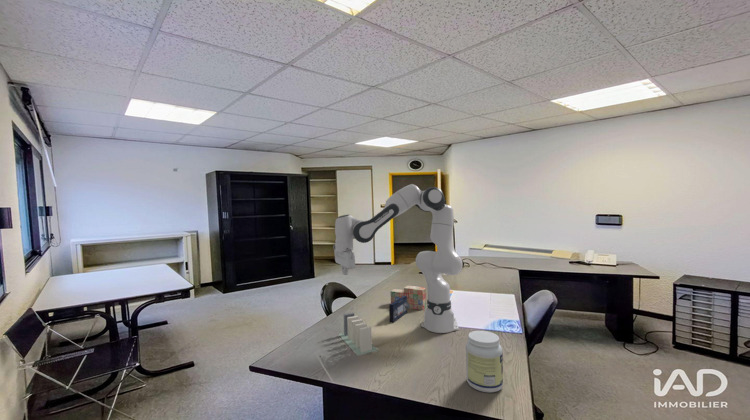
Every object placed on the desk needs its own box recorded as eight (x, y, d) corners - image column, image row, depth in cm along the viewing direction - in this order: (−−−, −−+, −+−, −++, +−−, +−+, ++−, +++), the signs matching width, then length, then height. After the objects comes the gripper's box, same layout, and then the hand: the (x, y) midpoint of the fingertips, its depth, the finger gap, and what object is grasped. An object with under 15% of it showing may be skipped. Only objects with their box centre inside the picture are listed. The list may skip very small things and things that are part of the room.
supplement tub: (509, 393, 105) (508, 343, 105) (472, 394, 105) (471, 344, 105) (495, 374, 117) (494, 328, 117) (462, 374, 117) (461, 329, 117)
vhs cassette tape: (393, 323, 170) (392, 305, 170) (388, 322, 171) (388, 304, 171) (408, 313, 185) (407, 296, 185) (403, 312, 187) (403, 295, 187)
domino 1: (344, 334, 155) (343, 314, 155) (353, 332, 157) (353, 312, 157) (345, 335, 154) (344, 315, 154) (354, 333, 156) (354, 313, 156)
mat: (338, 335, 156) (338, 334, 156) (356, 331, 160) (356, 330, 160) (357, 356, 133) (357, 355, 133) (378, 351, 138) (378, 350, 138)
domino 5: (359, 351, 137) (359, 328, 137) (370, 348, 139) (369, 326, 139) (361, 352, 136) (360, 329, 136) (371, 350, 138) (371, 327, 138)
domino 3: (351, 342, 146) (351, 320, 146) (361, 340, 148) (361, 319, 148) (352, 343, 145) (352, 322, 145) (362, 341, 147) (362, 320, 147)
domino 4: (355, 346, 142) (355, 324, 142) (365, 344, 144) (365, 322, 144) (357, 348, 140) (356, 325, 140) (367, 345, 142) (366, 323, 142)
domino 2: (347, 338, 151) (347, 317, 151) (357, 336, 153) (356, 315, 153) (348, 339, 149) (348, 318, 149) (358, 337, 152) (358, 316, 151)
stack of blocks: (390, 305, 199) (390, 286, 199) (394, 302, 205) (394, 284, 205) (423, 310, 190) (422, 289, 189) (426, 307, 195) (425, 287, 195)
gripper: (358, 248, 151) (358, 277, 151) (343, 244, 169) (344, 270, 169) (345, 250, 148) (346, 279, 148) (332, 245, 166) (332, 271, 167)
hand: (345, 274), depth 159 cm, fingers closed
